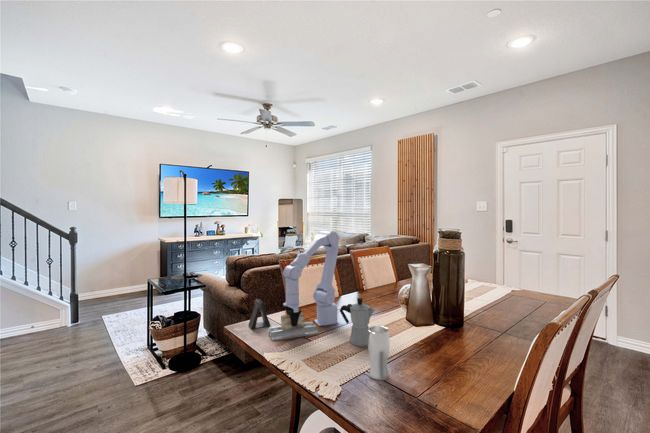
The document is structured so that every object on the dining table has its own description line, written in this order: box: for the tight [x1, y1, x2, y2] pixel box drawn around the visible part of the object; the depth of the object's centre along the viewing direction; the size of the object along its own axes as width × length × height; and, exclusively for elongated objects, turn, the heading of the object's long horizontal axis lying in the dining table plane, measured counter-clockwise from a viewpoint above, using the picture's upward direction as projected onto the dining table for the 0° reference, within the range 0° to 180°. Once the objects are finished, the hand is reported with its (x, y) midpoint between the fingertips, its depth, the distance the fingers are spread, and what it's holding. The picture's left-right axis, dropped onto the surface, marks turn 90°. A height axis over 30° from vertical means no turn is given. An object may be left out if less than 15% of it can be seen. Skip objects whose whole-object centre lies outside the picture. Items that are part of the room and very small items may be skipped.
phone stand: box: [248, 298, 272, 330], centre depth 141 cm, size 9×6×12 cm, turn 116°
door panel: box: [280, 312, 306, 330], centre depth 132 cm, size 10×2×7 cm, turn 108°
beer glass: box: [367, 325, 390, 381], centre depth 98 cm, size 7×7×15 cm
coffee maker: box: [339, 297, 376, 348], centre depth 122 cm, size 15×9×18 cm, turn 71°
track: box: [268, 321, 319, 342], centre depth 132 cm, size 20×10×3 cm, turn 109°
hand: (292, 323), depth 132 cm, fingers open, 6 cm apart
